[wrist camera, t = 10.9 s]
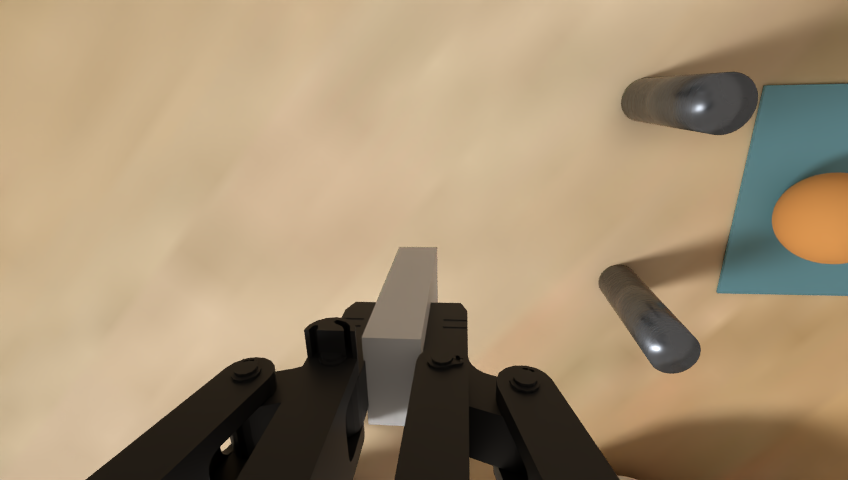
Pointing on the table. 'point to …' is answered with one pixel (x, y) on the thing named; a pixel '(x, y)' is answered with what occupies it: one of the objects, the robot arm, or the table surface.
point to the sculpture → (625, 478)
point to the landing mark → (775, 173)
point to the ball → (815, 218)
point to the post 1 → (693, 101)
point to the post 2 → (649, 321)
